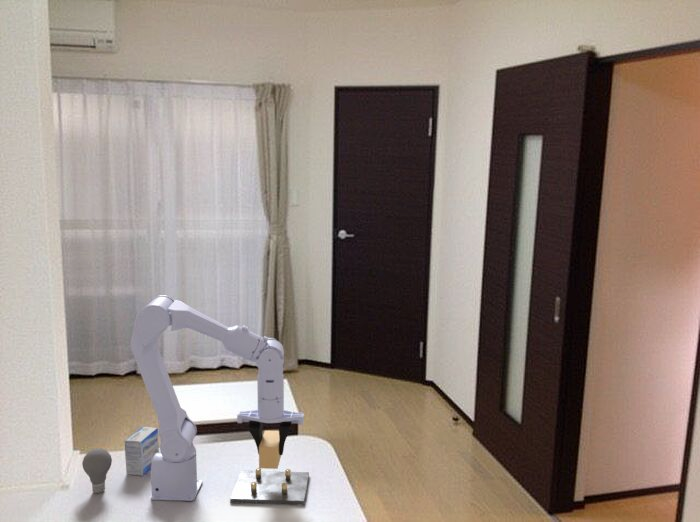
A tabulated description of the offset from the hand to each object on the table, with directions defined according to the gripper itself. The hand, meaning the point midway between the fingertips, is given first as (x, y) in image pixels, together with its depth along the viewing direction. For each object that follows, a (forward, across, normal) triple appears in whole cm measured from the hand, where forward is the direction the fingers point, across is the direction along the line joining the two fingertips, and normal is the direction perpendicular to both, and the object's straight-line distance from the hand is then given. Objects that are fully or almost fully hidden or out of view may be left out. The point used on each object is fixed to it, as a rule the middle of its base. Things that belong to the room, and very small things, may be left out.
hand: (271, 452), depth 139 cm
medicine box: (+9, +32, -8) cm, 34 cm away
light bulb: (+9, +38, +3) cm, 39 cm away
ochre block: (+2, 0, 0) cm, 2 cm away
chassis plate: (+9, 0, 0) cm, 9 cm away
